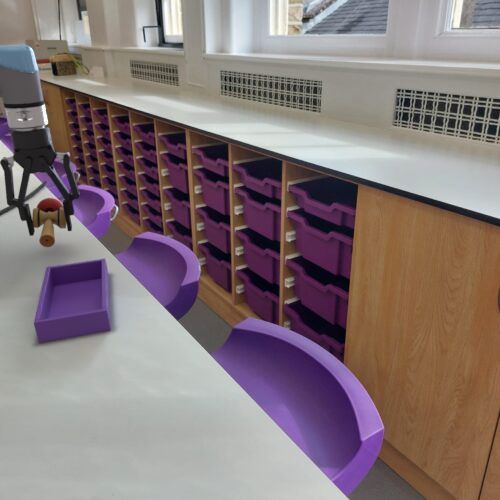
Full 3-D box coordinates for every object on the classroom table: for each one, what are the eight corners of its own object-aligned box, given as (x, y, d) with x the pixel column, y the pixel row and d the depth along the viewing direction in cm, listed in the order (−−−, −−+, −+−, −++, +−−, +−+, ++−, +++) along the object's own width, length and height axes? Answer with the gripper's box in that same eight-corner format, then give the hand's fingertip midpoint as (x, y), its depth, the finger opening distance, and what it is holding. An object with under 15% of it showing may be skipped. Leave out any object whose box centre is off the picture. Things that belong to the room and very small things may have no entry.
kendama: (73, 249, 103) (72, 211, 118) (61, 224, 100) (62, 188, 114) (36, 260, 102) (39, 220, 116) (23, 235, 98) (28, 197, 113)
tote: (51, 287, 100) (46, 267, 98) (109, 277, 103) (105, 258, 101) (39, 346, 81) (33, 323, 79) (111, 333, 84) (106, 310, 82)
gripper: (-30, 134, 94) (-1, 243, 103) (80, 127, 98) (98, 231, 108) (-21, 127, 100) (5, 230, 110) (81, 120, 105) (98, 219, 115)
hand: (51, 230), depth 109 cm, fingers closed on kendama, 7 cm apart
